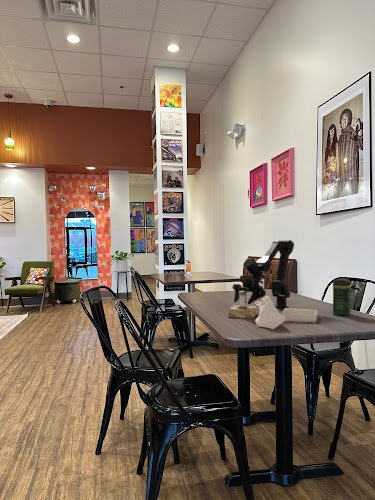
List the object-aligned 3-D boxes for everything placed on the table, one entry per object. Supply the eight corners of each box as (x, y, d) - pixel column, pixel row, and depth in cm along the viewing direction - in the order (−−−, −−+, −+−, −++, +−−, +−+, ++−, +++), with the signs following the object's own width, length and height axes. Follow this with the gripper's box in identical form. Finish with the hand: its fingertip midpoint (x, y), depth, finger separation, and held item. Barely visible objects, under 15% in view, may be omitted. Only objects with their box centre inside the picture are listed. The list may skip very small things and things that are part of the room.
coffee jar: (347, 316, 183) (347, 279, 182) (331, 315, 187) (330, 278, 187) (352, 313, 190) (351, 277, 190) (336, 312, 195) (335, 277, 195)
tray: (285, 315, 190) (285, 308, 190) (317, 316, 184) (317, 309, 184) (281, 320, 175) (280, 313, 175) (315, 323, 169) (315, 315, 169)
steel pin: (240, 314, 193) (239, 290, 193) (248, 315, 191) (248, 290, 191) (238, 316, 189) (237, 291, 189) (246, 316, 187) (246, 292, 187)
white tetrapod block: (258, 333, 158) (249, 301, 160) (257, 328, 173) (248, 299, 174) (287, 326, 157) (278, 293, 158) (283, 321, 171) (274, 292, 173)
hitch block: (234, 312, 198) (234, 305, 198) (257, 314, 193) (257, 306, 193) (228, 316, 187) (228, 309, 187) (252, 318, 182) (252, 310, 182)
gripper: (234, 269, 200) (220, 291, 192) (262, 270, 185) (248, 294, 178) (243, 282, 205) (230, 304, 198) (271, 284, 191) (258, 308, 184)
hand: (241, 302), depth 189 cm, fingers open, 9 cm apart
